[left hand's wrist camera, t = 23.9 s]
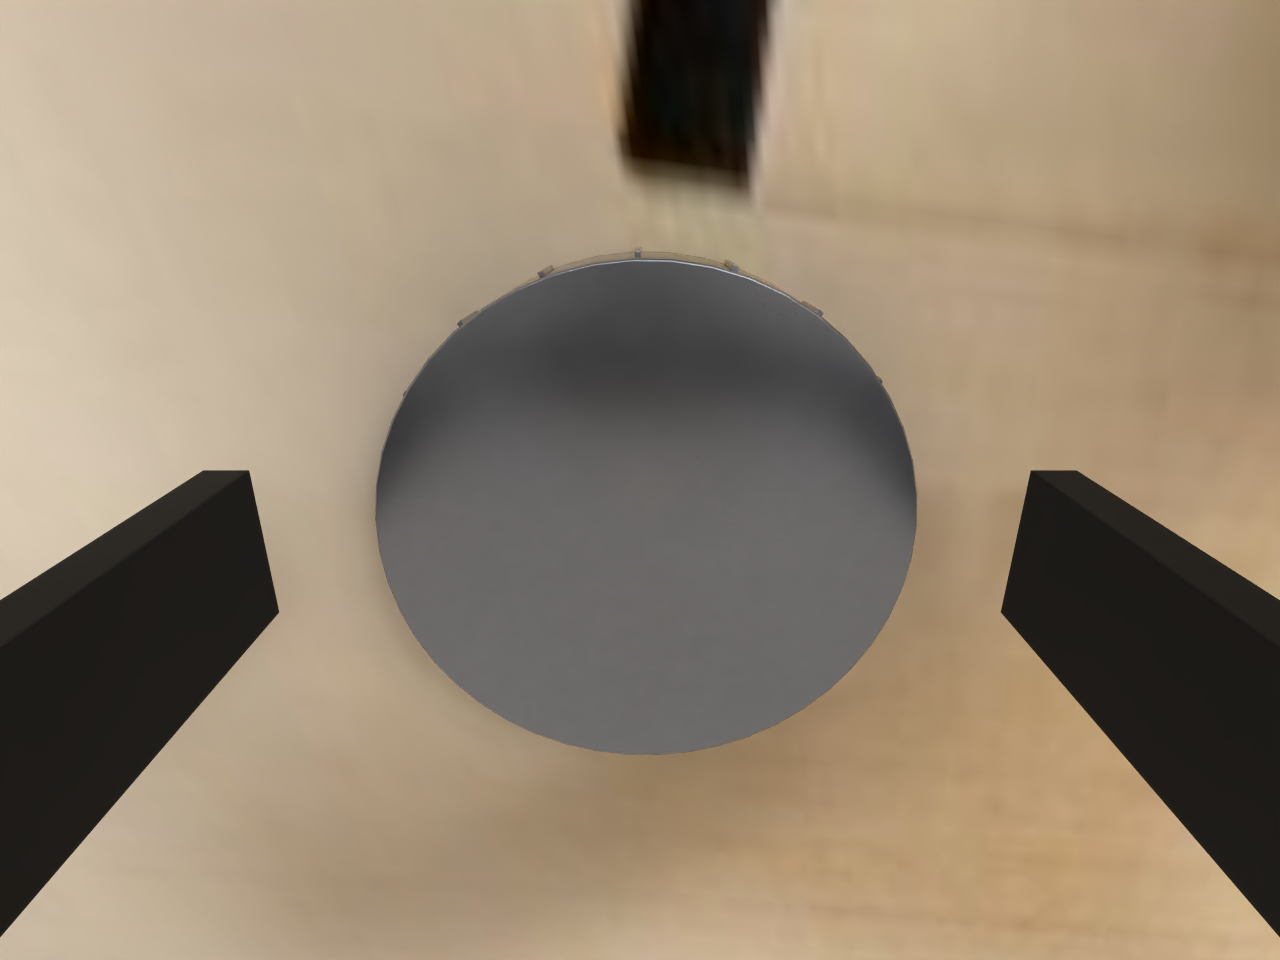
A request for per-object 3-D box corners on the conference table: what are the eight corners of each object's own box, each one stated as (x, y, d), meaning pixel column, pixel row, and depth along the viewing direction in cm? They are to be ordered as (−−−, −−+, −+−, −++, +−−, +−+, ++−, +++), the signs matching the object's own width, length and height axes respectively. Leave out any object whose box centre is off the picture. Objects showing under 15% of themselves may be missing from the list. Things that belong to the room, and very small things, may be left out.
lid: (544, 758, 18) (534, 819, 16) (304, 388, 15) (258, 414, 13) (948, 603, 17) (985, 651, 15) (780, 149, 13) (801, 140, 12)
